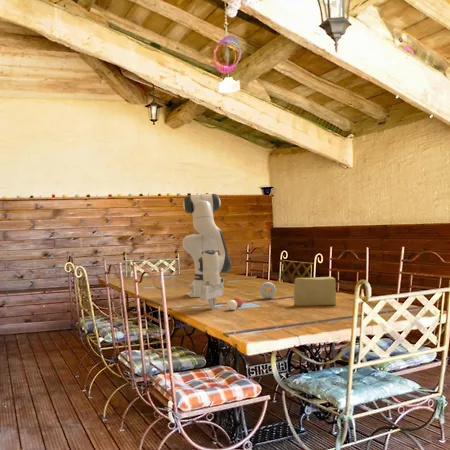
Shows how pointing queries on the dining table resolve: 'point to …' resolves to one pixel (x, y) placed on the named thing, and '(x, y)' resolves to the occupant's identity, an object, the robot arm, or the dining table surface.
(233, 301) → the cue ball
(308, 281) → the olive tan box
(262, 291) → the donut
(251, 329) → the dining table surface
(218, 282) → the robot arm
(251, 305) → the mark
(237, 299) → the red ball
